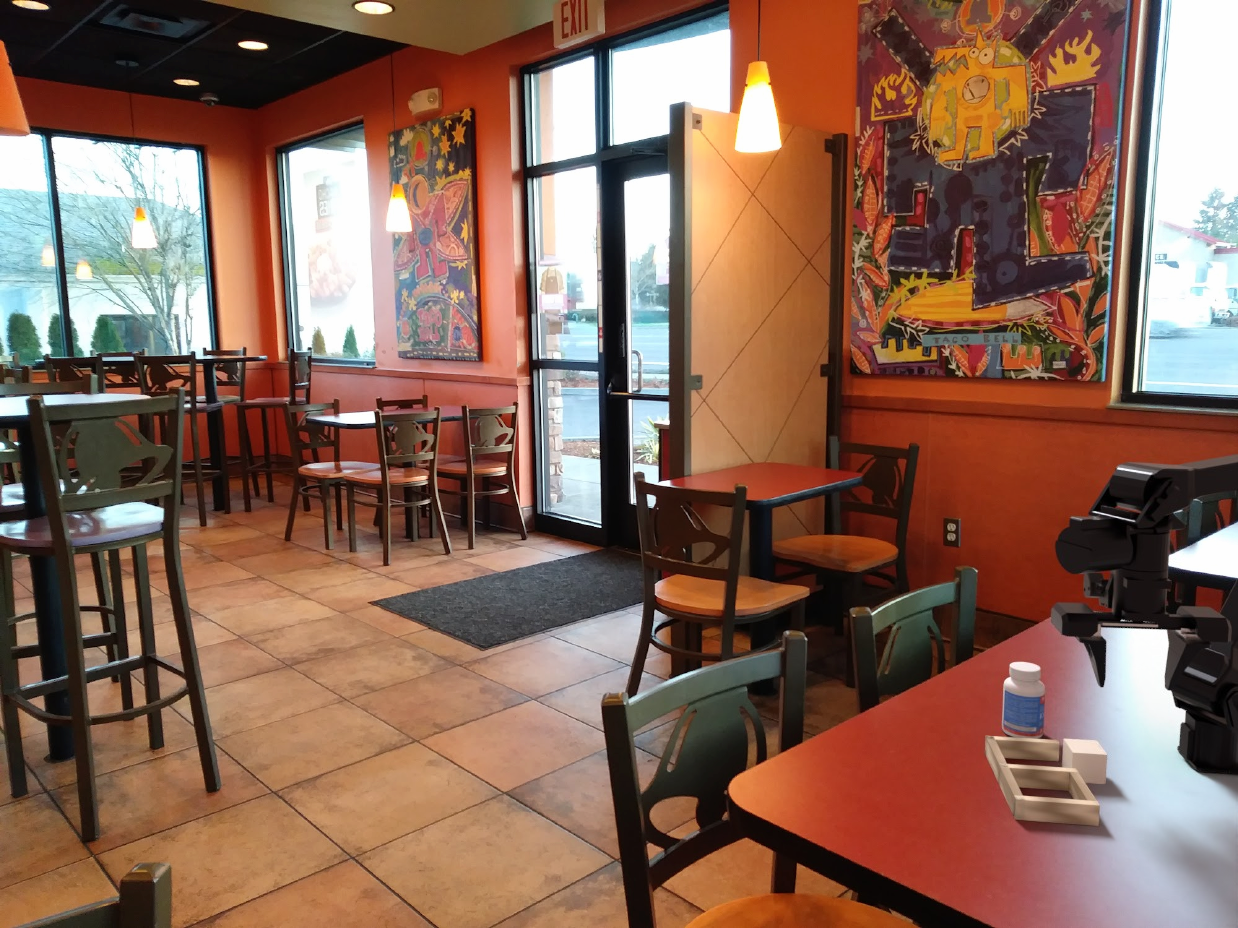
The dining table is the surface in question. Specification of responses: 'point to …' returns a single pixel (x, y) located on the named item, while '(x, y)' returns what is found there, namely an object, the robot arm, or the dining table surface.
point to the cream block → (1085, 759)
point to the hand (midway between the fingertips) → (1134, 687)
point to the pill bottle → (1023, 701)
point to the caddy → (1040, 782)
